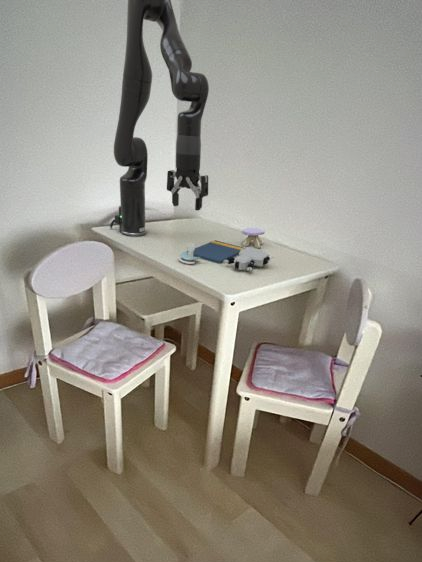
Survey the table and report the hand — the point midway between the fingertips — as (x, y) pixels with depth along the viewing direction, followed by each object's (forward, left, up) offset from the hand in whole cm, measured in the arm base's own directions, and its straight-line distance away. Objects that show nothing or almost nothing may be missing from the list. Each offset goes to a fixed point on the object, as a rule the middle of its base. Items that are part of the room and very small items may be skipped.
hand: (186, 207), depth 139 cm
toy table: (+10, +32, -17) cm, 37 cm away
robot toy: (+21, +8, -17) cm, 28 cm away
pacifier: (+3, -2, -17) cm, 17 cm away
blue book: (+5, +14, -17) cm, 22 cm away
